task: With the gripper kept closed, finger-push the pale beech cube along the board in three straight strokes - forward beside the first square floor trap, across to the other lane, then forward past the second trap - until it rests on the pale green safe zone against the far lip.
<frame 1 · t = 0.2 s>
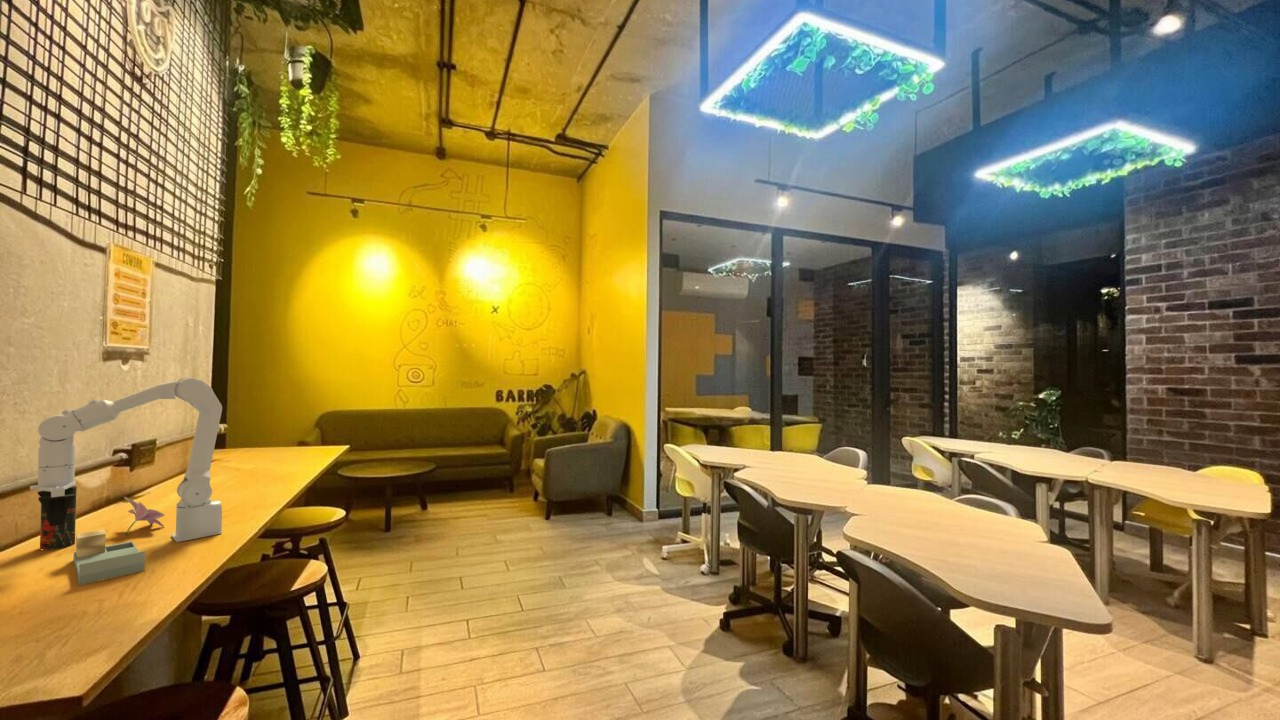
hand: (55, 521, 118), 10 cm above the bar counter, tool pointing down, fingers open, 7 cm apart
beech block: (90, 552, 119), point 2 cm above the bar counter, touching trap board
deodorant: (57, 547, 128), on the bar counter
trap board: (108, 565, 116), on the bar counter
lily: (143, 530, 141), on the bar counter
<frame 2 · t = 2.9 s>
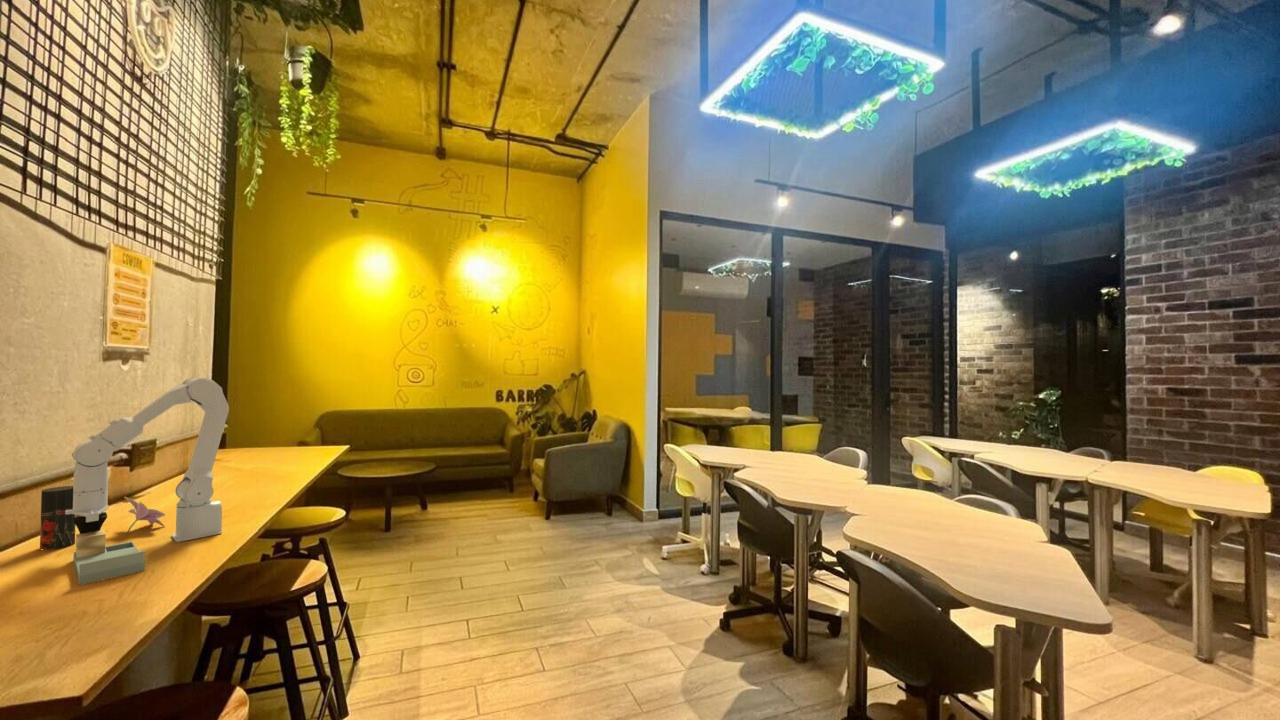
hand: (89, 545, 121), 3 cm above the bar counter, tool pointing down, fingers closed
beech block: (90, 552, 119), point 2 cm above the bar counter, touching gripper
everything else where it was.
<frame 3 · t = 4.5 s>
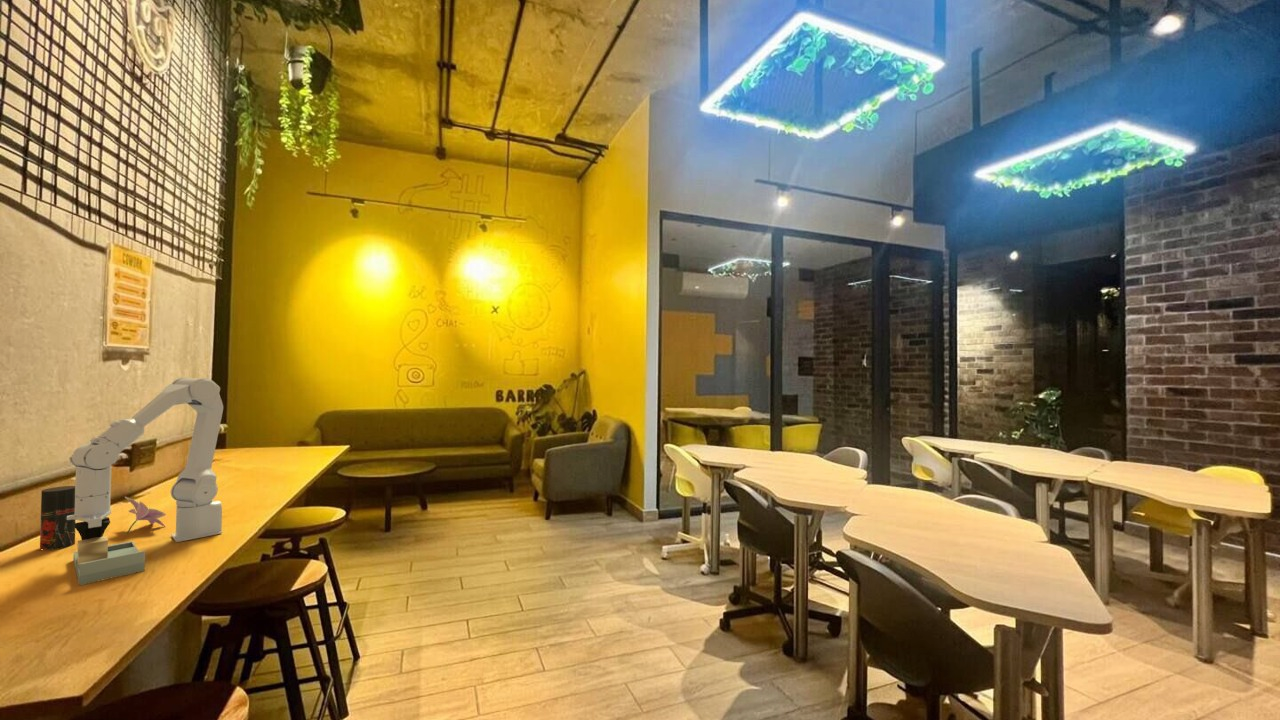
hand: (91, 551, 117), 3 cm above the bar counter, tool pointing down, fingers closed
beech block: (92, 559, 115), point 2 cm above the bar counter, touching gripper, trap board
everything else where it was.
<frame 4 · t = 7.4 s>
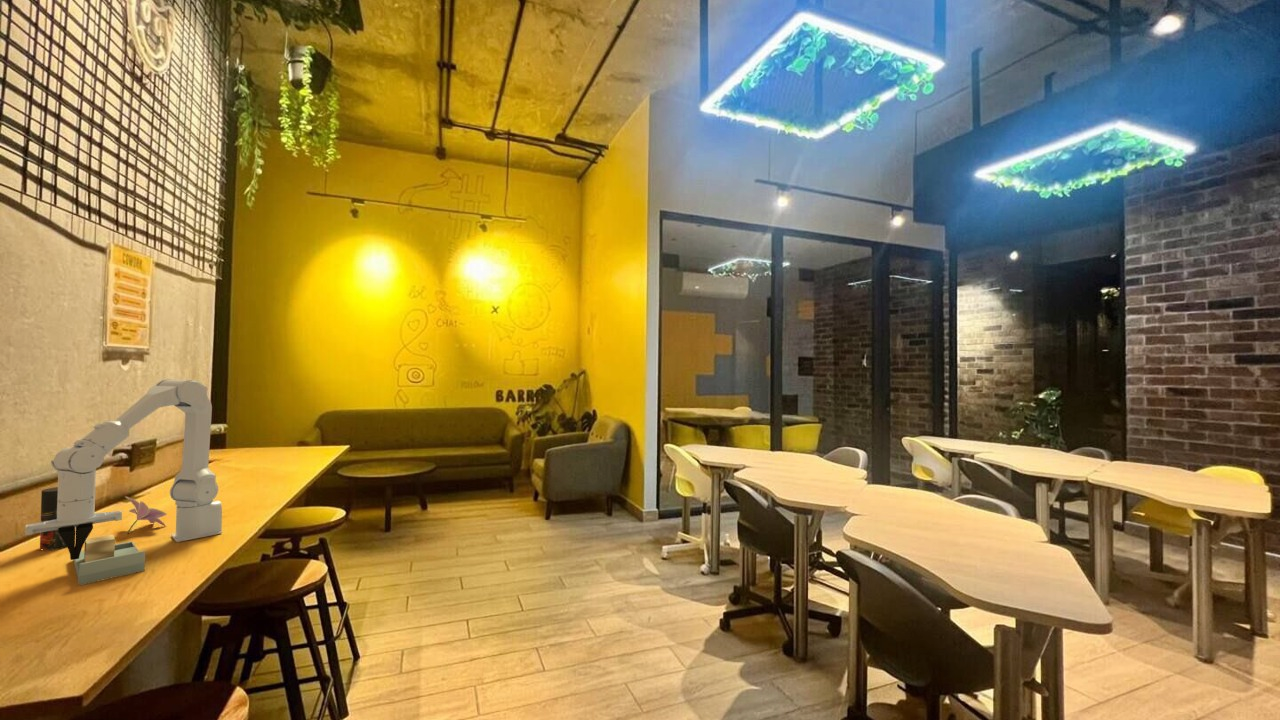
hand: (74, 558, 113), 3 cm above the bar counter, tool pointing down, fingers closed
beech block: (99, 558, 116), point 2 cm above the bar counter, touching gripper, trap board
everything else where it was.
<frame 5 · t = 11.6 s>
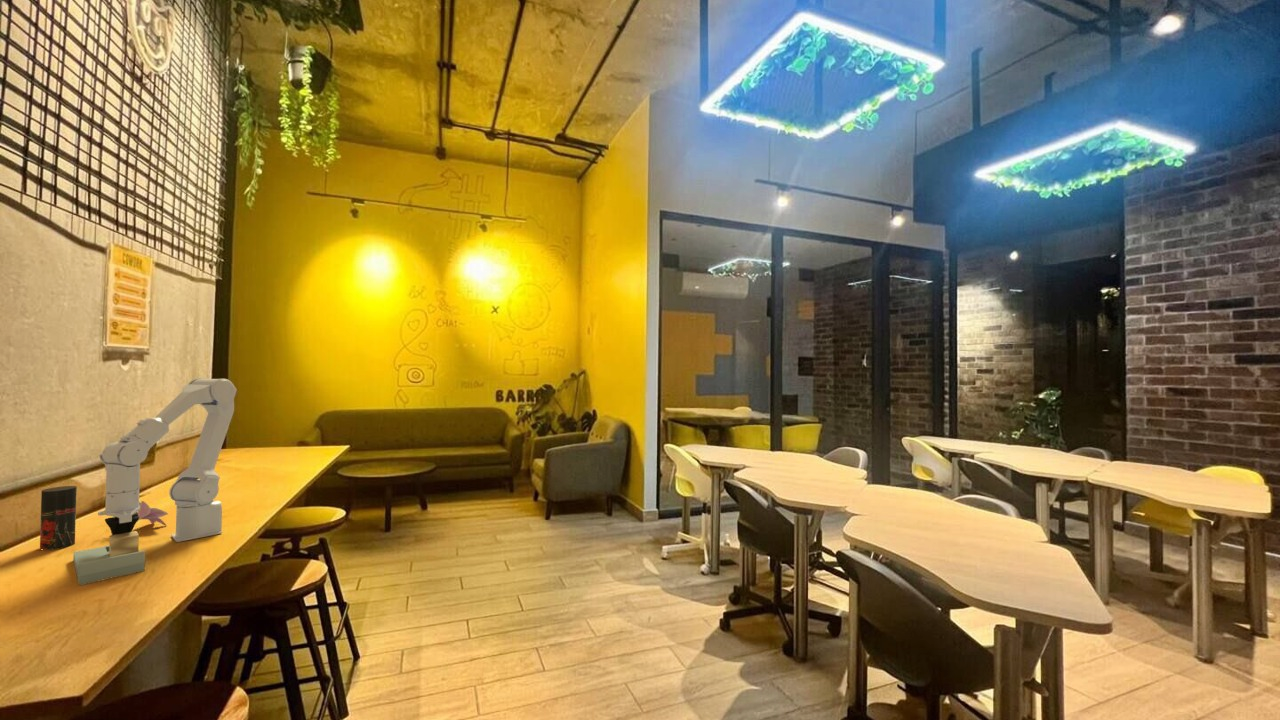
hand: (121, 546, 121), 3 cm above the bar counter, tool pointing down, fingers closed
beech block: (123, 554, 118), point 2 cm above the bar counter, touching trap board
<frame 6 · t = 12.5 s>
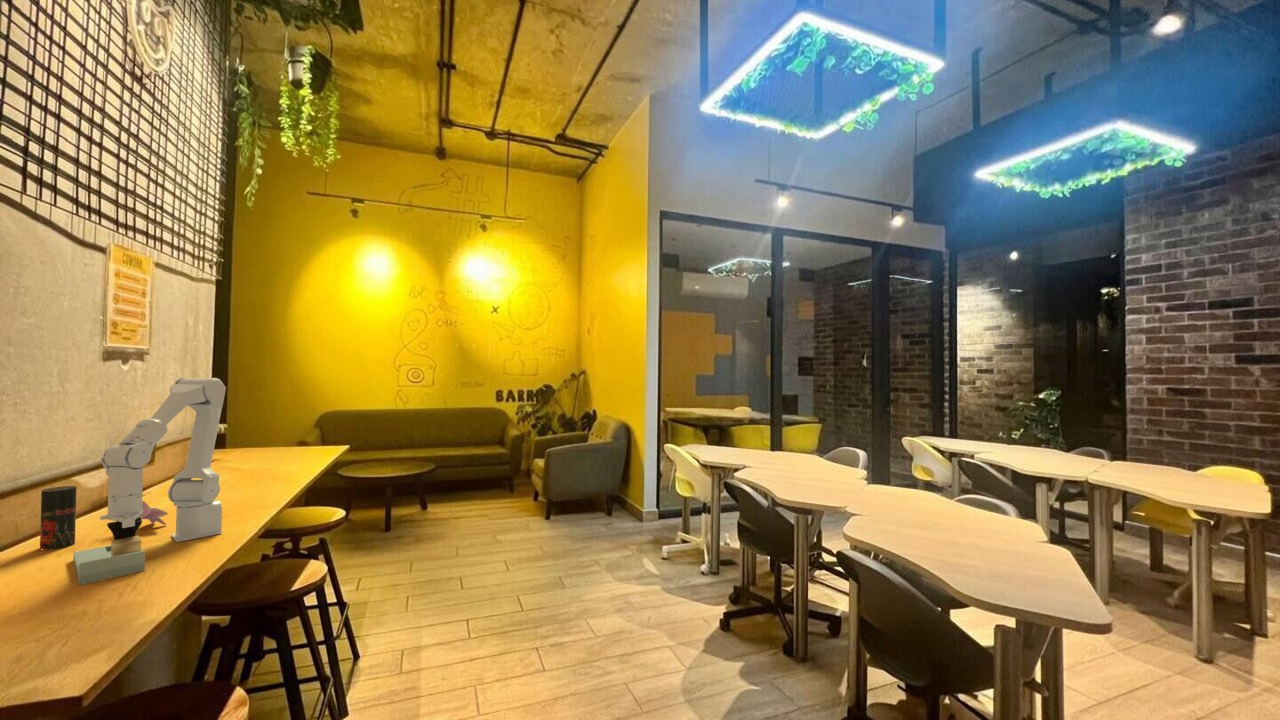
hand: (123, 551, 117), 3 cm above the bar counter, tool pointing down, fingers closed
beech block: (125, 559, 115), point 2 cm above the bar counter, touching gripper, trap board
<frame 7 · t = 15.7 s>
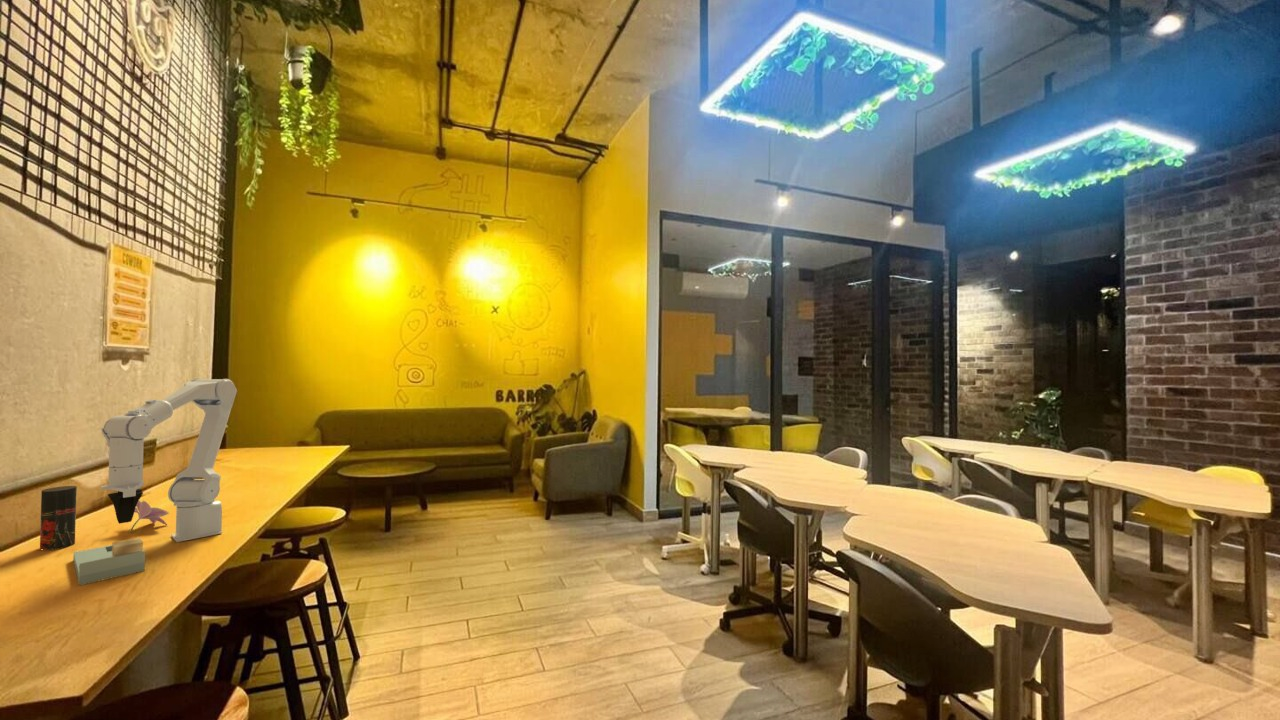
hand: (124, 522, 118), 10 cm above the bar counter, tool pointing down, fingers closed
beech block: (127, 561, 114), point 2 cm above the bar counter, touching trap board
at the end: beech block 0.2 cm from the target spot on the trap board, point 2.0 cm above the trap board's base; beech block tilted 0° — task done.
